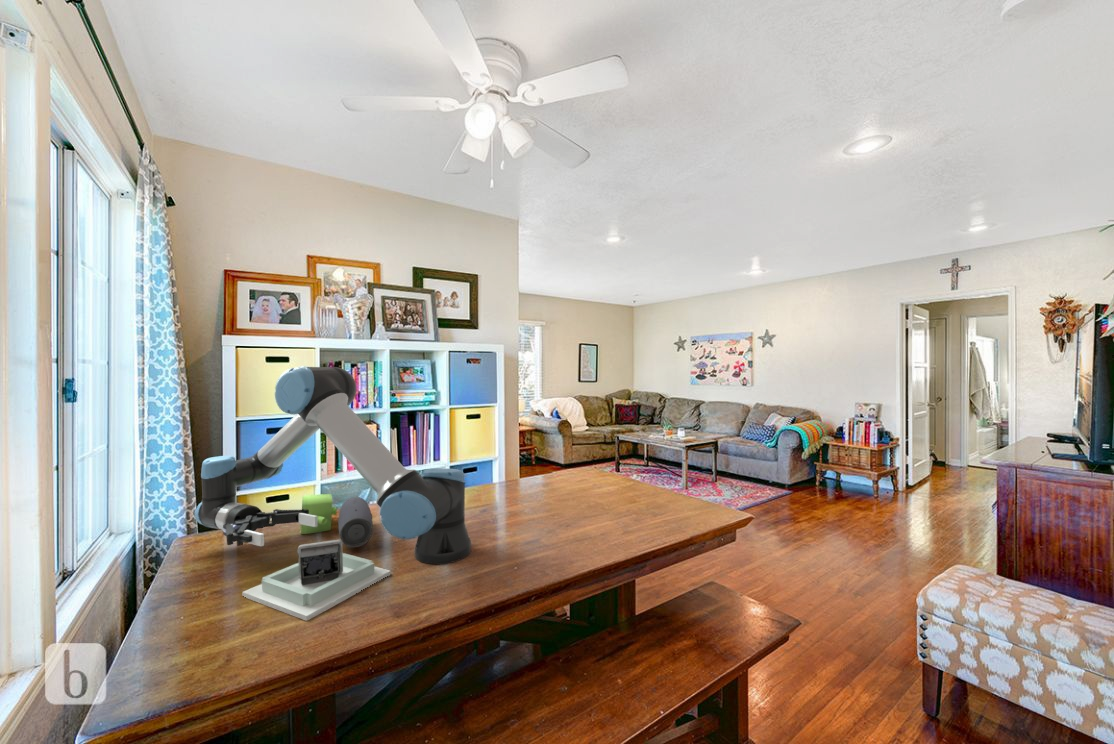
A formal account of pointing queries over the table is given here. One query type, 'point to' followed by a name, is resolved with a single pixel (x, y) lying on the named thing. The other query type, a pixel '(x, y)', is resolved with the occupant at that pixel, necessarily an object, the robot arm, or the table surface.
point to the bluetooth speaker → (355, 522)
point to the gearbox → (318, 512)
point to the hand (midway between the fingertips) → (290, 530)
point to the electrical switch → (320, 561)
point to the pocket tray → (314, 588)
